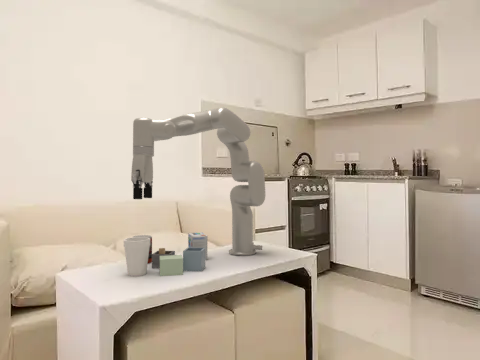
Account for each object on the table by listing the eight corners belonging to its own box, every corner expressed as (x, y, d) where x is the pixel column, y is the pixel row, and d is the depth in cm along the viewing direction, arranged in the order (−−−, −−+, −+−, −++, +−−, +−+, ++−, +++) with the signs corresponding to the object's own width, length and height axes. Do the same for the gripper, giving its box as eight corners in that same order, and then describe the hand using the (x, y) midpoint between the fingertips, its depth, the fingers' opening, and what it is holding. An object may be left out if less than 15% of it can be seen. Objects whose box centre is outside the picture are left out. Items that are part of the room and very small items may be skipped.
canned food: (147, 265, 148) (147, 238, 148) (128, 264, 150) (128, 237, 150) (155, 261, 156) (155, 235, 156) (137, 260, 157) (137, 234, 157)
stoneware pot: (205, 268, 144) (205, 247, 144) (201, 272, 137) (201, 251, 137) (187, 267, 145) (187, 247, 145) (183, 272, 138) (183, 250, 138)
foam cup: (151, 277, 131) (150, 240, 131) (123, 279, 128) (123, 241, 128) (149, 270, 140) (149, 236, 140) (124, 272, 138) (123, 237, 137)
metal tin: (174, 265, 149) (174, 250, 149) (169, 270, 142) (169, 254, 142) (157, 265, 149) (157, 250, 149) (152, 269, 142) (151, 254, 142)
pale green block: (181, 271, 139) (181, 254, 139) (182, 276, 133) (182, 258, 133) (159, 273, 137) (159, 255, 137) (160, 277, 131) (160, 259, 131)
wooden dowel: (165, 265, 146) (165, 248, 146) (164, 267, 144) (164, 249, 144) (160, 265, 146) (160, 248, 146) (158, 267, 144) (158, 249, 144)
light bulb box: (187, 257, 164) (187, 232, 164) (202, 256, 167) (202, 232, 166) (192, 262, 154) (192, 236, 154) (208, 261, 156) (208, 235, 156)
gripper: (142, 153, 146) (142, 197, 146) (123, 150, 128) (123, 199, 128) (161, 153, 145) (160, 197, 145) (144, 150, 128) (144, 199, 128)
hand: (142, 198), depth 137 cm, fingers open, 9 cm apart
